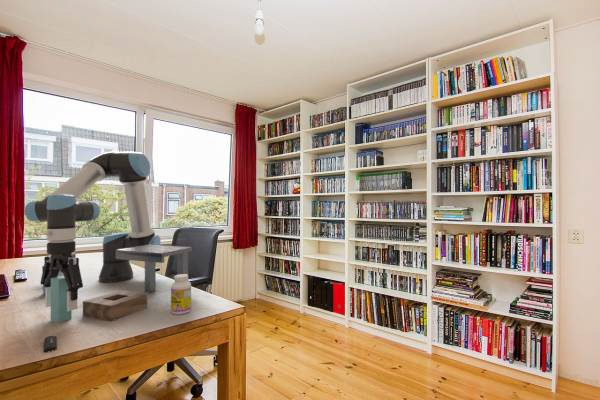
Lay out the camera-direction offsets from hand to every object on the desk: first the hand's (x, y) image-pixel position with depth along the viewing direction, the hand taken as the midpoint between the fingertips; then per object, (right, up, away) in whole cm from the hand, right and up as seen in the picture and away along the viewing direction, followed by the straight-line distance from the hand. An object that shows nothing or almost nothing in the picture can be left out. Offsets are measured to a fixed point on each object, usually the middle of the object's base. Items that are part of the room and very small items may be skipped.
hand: (61, 307), depth 101 cm
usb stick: (+11, -4, -18) cm, 22 cm away
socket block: (+14, -4, +7) cm, 16 cm away
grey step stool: (+20, -4, +23) cm, 31 cm away
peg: (0, -4, 0) cm, 4 cm away
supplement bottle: (+37, -4, +7) cm, 38 cm away
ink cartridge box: (-28, -5, +33) cm, 44 cm away
